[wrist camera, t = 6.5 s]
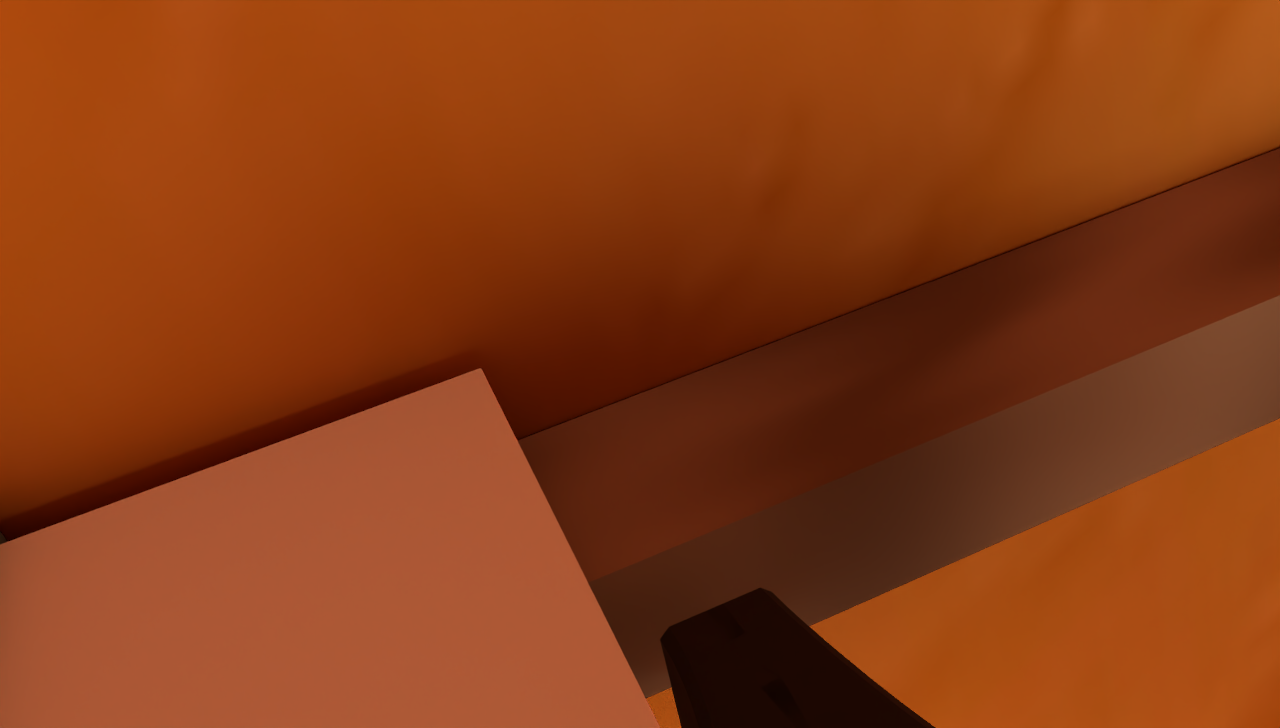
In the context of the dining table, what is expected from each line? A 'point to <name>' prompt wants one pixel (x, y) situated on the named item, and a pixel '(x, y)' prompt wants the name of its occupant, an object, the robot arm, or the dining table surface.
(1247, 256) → the rail
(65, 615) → the keeper
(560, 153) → the dining table surface
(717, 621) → the robot arm
